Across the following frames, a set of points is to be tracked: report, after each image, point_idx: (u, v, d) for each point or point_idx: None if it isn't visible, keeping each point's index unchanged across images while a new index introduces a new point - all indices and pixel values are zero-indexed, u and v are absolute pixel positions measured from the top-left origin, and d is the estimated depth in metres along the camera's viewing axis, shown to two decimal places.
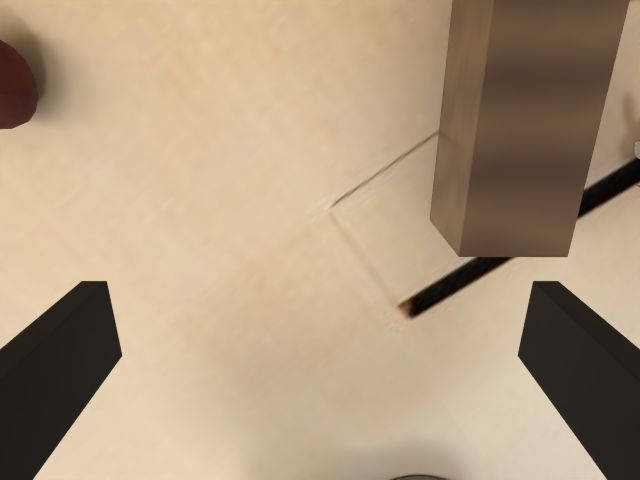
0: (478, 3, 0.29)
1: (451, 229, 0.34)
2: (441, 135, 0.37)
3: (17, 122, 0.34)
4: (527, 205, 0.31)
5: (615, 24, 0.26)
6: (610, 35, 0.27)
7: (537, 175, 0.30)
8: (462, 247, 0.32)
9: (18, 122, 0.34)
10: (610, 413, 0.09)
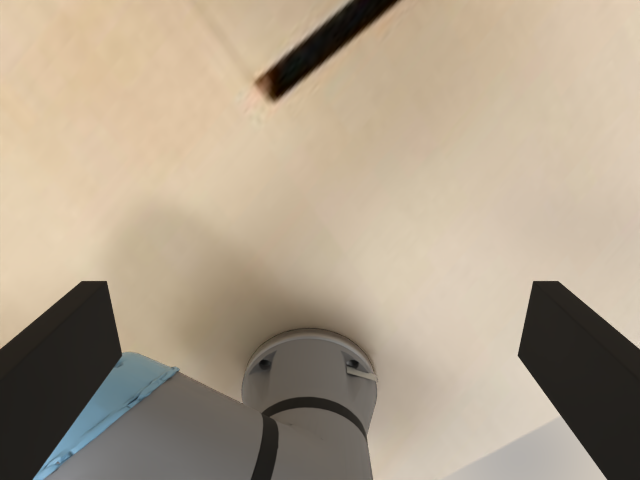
0: None
1: None
2: None
3: None
4: None
5: None
6: None
7: None
8: None
9: None
10: (610, 413, 0.09)
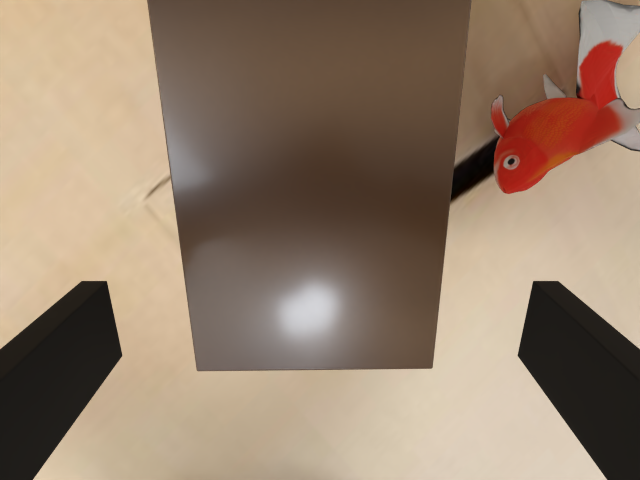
0: None
1: None
2: None
3: None
4: (323, 263, 0.14)
5: None
6: None
7: (333, 195, 0.13)
8: (200, 353, 0.15)
9: None
10: (610, 413, 0.09)
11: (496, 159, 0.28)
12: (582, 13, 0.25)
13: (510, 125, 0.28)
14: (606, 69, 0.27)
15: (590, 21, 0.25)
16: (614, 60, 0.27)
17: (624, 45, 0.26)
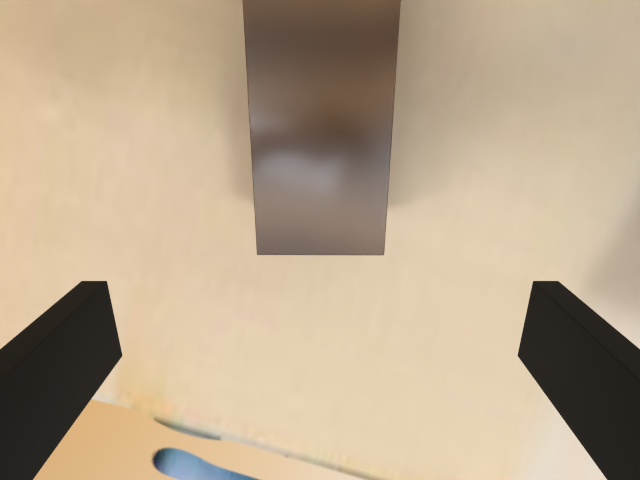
0: None
1: None
2: None
3: None
4: (326, 194, 0.26)
5: None
6: None
7: (331, 158, 0.25)
8: (259, 244, 0.28)
9: None
10: (610, 413, 0.09)
11: None
12: None
13: None
14: None
15: None
16: None
17: None
